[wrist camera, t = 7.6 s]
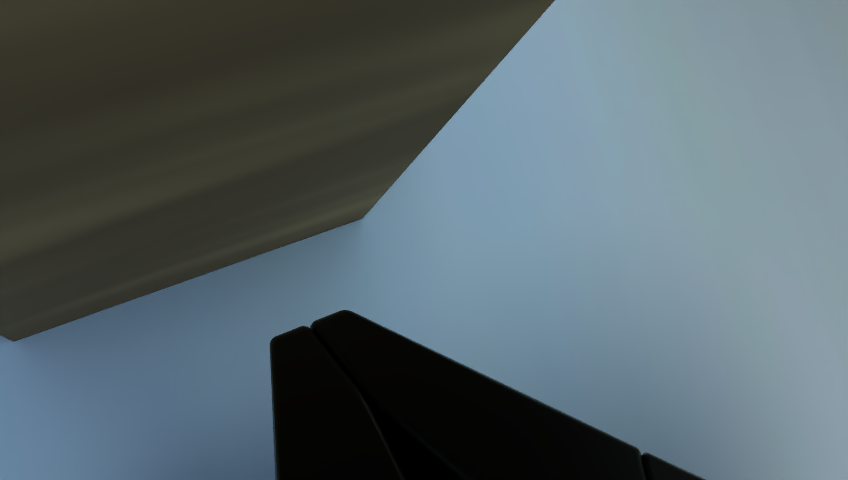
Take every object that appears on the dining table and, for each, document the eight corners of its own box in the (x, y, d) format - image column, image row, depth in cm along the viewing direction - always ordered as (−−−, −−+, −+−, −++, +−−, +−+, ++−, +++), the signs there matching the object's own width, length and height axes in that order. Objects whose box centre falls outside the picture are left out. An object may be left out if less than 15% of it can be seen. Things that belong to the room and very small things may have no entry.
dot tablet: (362, 218, 16) (771, -245, 5) (13, 341, 14) (-772, -40, 2) (314, 103, 16) (600, -582, 5) (-37, 202, 14) (-952, -722, 3)
